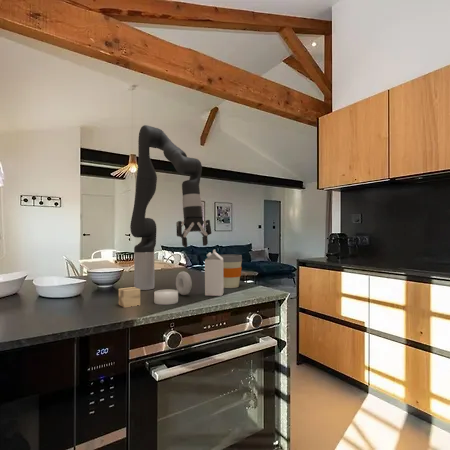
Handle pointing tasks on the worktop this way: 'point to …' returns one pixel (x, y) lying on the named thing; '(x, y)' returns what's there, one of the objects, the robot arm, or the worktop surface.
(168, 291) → the pedestal
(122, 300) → the maple cube
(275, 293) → the worktop surface
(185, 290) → the donut
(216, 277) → the milk carton
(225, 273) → the reusable coffee cup
